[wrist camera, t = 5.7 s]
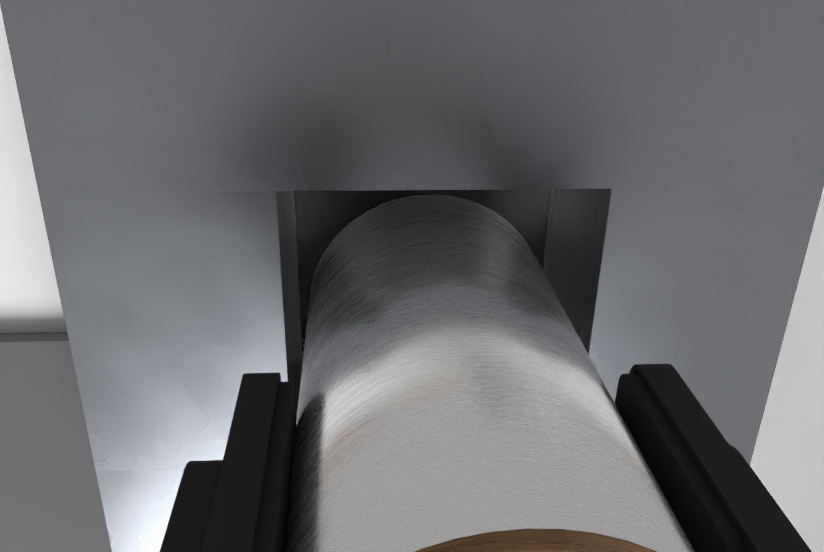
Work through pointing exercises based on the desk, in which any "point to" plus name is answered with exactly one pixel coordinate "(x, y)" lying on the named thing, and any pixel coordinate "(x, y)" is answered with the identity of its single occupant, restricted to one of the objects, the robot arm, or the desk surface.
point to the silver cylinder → (457, 401)
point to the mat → (45, 451)
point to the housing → (408, 186)
